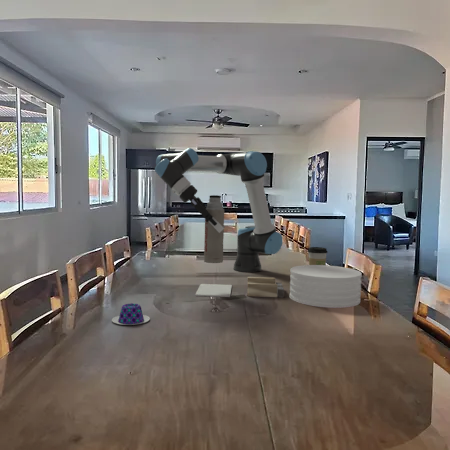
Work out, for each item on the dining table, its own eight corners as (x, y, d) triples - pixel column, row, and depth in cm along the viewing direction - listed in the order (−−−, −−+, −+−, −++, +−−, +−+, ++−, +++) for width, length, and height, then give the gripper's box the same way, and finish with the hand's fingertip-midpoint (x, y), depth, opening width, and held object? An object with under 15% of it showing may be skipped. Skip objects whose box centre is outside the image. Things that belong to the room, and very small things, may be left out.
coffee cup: (326, 280, 210) (328, 249, 209) (306, 278, 212) (307, 248, 210) (326, 276, 219) (327, 247, 218) (306, 275, 221) (307, 246, 220)
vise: (247, 288, 188) (247, 276, 187) (281, 289, 187) (281, 278, 187) (247, 296, 173) (247, 284, 173) (283, 297, 172) (284, 285, 172)
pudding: (134, 329, 129) (134, 312, 129) (103, 323, 135) (103, 307, 134) (157, 319, 140) (157, 303, 140) (128, 314, 145) (128, 298, 145)
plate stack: (361, 294, 181) (362, 268, 180) (359, 311, 155) (360, 280, 154) (295, 288, 190) (296, 263, 190) (283, 303, 164) (284, 273, 163)
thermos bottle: (204, 263, 175) (206, 195, 173) (203, 260, 183) (205, 195, 181) (223, 263, 176) (225, 195, 174) (222, 260, 184) (223, 195, 182)
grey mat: (200, 285, 191) (200, 283, 191) (231, 286, 191) (231, 284, 191) (195, 295, 172) (195, 294, 172) (229, 297, 171) (229, 295, 171)
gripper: (182, 196, 189) (217, 233, 189) (174, 196, 168) (214, 238, 168) (194, 184, 188) (229, 222, 188) (188, 183, 167) (227, 225, 168)
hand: (222, 229), depth 178 cm, fingers closed on thermos bottle, 8 cm apart
